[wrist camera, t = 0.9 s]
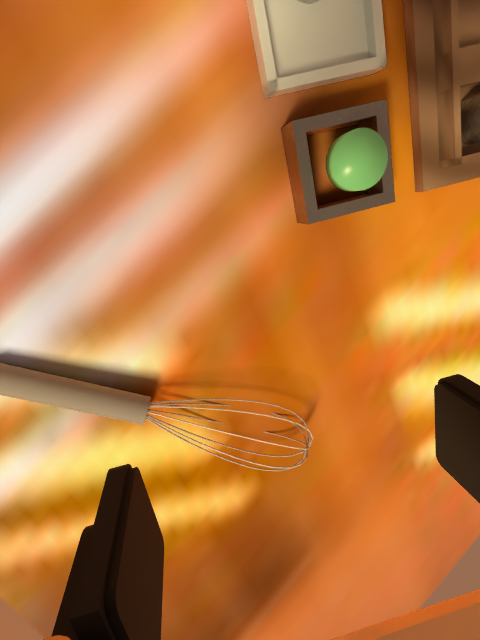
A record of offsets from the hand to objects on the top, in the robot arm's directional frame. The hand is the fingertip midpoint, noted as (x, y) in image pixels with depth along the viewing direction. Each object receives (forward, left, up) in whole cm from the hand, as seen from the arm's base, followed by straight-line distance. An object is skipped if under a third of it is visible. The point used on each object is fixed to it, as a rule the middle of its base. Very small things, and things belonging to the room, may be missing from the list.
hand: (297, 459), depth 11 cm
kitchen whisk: (+10, -9, -25) cm, 29 cm away
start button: (-8, +13, -23) cm, 28 cm away
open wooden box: (-8, +13, -25) cm, 29 cm away
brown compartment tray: (-13, +26, -25) cm, 38 cm away
